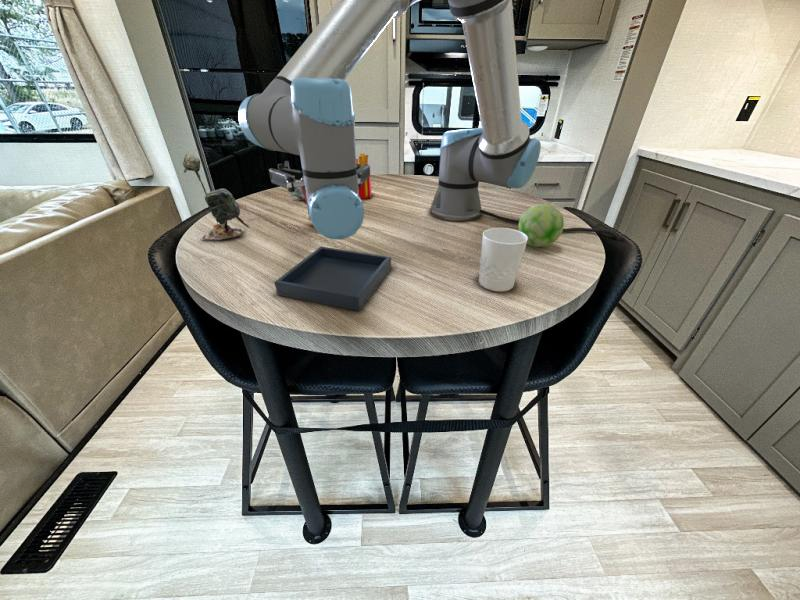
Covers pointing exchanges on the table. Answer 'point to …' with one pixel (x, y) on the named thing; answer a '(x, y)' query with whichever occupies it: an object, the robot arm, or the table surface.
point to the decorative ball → (541, 225)
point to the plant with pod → (217, 205)
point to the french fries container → (366, 186)
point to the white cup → (501, 258)
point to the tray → (335, 277)
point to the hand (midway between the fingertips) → (319, 166)
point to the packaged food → (298, 193)
